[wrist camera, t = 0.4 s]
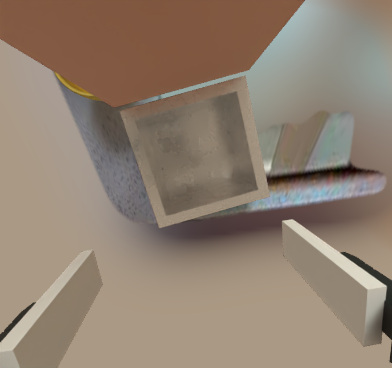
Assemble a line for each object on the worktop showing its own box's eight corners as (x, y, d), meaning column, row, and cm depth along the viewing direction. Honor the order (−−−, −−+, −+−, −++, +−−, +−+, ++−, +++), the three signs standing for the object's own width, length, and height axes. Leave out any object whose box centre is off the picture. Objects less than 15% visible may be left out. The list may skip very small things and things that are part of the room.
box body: (137, 119, 38) (119, 110, 27) (227, 94, 38) (245, 75, 28) (165, 206, 42) (159, 228, 31) (247, 183, 42) (269, 196, 31)
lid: (113, 107, 27) (104, 79, 26) (248, 70, 27) (242, 41, 27) (-44, 12, 8) (-89, -91, 8) (390, -106, 9) (381, -216, 8)
